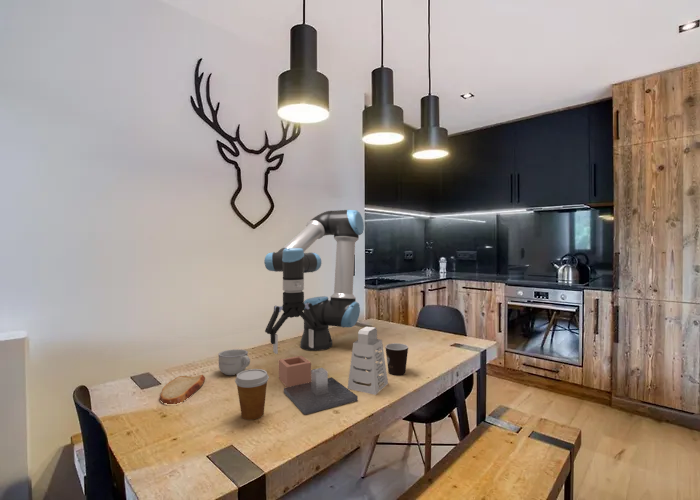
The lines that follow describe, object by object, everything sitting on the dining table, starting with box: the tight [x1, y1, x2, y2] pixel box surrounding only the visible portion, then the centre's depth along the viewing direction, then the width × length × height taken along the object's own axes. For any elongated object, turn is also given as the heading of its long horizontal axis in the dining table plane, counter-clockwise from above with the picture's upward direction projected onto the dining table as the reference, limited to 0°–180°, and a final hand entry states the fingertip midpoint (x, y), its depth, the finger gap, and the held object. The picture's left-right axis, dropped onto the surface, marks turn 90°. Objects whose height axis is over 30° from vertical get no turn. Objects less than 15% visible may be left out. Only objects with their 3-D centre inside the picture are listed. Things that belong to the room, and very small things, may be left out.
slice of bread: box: [159, 374, 206, 404], centre depth 125 cm, size 18×18×4 cm
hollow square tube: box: [278, 355, 312, 387], centre depth 133 cm, size 9×9×7 cm
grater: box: [347, 326, 389, 396], centre depth 127 cm, size 10×10×20 cm
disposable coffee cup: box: [234, 368, 270, 421], centre depth 107 cm, size 10×10×12 cm
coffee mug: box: [384, 342, 409, 377], centre depth 140 cm, size 12×9×10 cm
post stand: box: [283, 367, 359, 416], centre depth 119 cm, size 18×18×8 cm
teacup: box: [217, 348, 251, 376], centre depth 140 cm, size 14×11×8 cm
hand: (293, 349), depth 132 cm, fingers open, 13 cm apart
